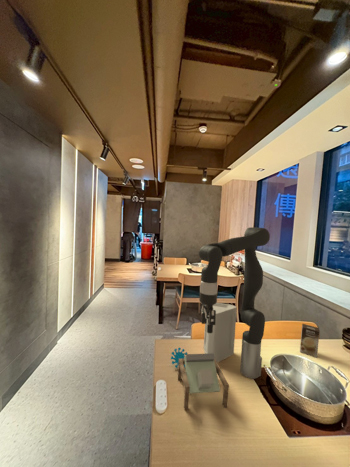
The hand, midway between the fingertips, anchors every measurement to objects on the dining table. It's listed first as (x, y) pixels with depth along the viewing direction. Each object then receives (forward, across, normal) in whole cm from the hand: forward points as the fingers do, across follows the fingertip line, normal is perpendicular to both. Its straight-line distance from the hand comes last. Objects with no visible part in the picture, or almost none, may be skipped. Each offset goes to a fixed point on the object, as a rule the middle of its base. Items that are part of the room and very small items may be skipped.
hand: (206, 327), depth 92 cm
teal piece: (+30, +20, +7) cm, 37 cm away
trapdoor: (+22, +2, +1) cm, 22 cm away
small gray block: (+20, -3, +1) cm, 21 cm away
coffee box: (+31, +26, -76) cm, 86 cm away
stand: (+30, +2, +1) cm, 30 cm away
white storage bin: (+30, +30, -16) cm, 45 cm away
